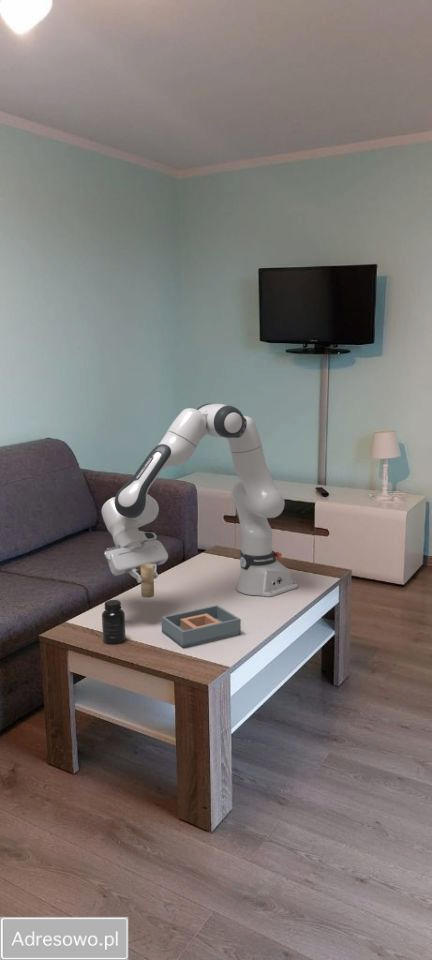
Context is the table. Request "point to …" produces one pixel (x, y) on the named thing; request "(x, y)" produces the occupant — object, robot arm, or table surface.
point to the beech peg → (147, 580)
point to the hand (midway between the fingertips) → (148, 579)
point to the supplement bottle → (113, 622)
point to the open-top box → (201, 626)
